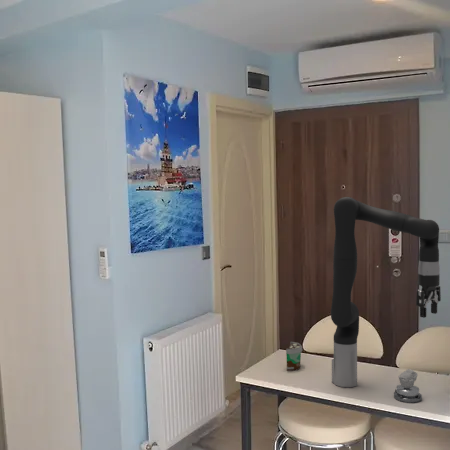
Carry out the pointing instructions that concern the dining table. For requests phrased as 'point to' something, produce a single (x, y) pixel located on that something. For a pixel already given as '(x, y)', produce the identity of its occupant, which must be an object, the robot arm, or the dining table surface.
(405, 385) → the frog figurine
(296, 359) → the food container
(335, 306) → the robot arm
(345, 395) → the dining table surface
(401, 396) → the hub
